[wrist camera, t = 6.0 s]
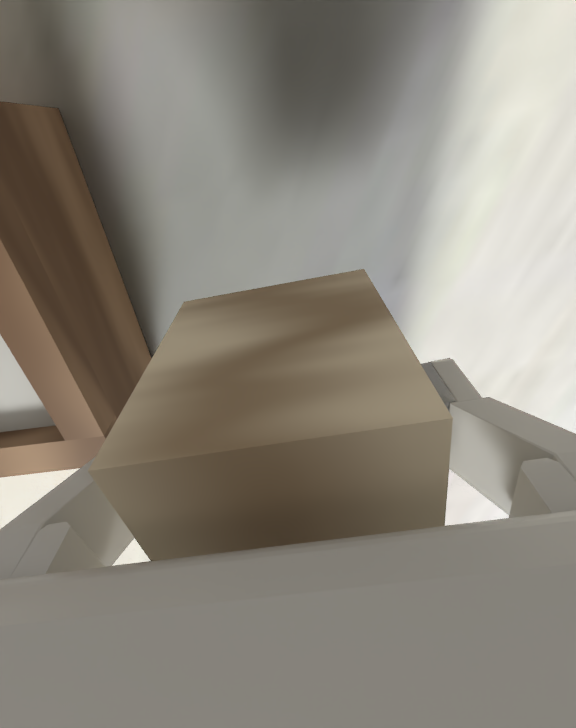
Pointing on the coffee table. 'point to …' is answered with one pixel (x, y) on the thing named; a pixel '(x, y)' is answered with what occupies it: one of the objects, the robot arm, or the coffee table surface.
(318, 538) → the ash block
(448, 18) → the coffee table surface
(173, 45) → the coffee table surface
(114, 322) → the walnut frame
